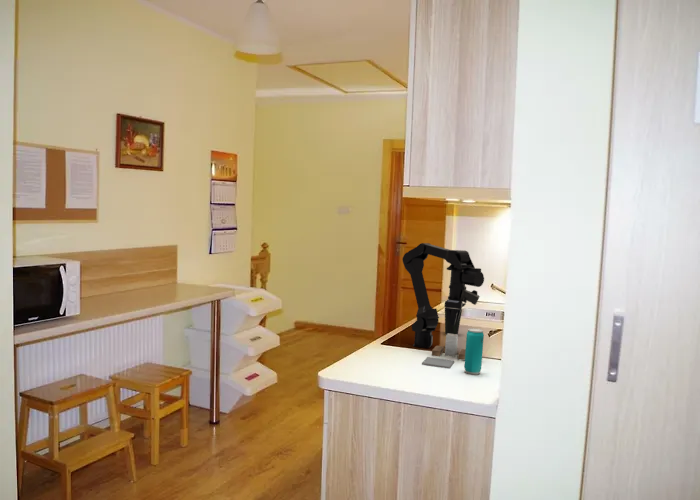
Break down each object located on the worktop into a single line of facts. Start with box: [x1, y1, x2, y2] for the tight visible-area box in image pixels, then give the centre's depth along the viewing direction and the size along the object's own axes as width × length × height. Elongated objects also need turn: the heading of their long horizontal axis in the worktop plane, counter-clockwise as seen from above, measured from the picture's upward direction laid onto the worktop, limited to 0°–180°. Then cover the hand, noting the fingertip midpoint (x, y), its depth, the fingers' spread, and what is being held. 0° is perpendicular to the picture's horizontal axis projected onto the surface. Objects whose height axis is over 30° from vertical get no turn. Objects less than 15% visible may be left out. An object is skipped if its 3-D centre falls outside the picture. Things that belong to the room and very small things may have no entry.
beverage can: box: [464, 327, 485, 376], centre depth 199 cm, size 6×6×15 cm
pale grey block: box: [444, 333, 459, 358], centre depth 223 cm, size 4×4×8 cm
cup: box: [444, 308, 463, 336], centre depth 261 cm, size 8×8×12 cm
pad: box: [421, 356, 455, 369], centre depth 210 cm, size 10×10×1 cm
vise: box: [431, 345, 466, 361], centre depth 222 cm, size 18×9×2 cm, turn 71°
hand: (454, 323), depth 223 cm, fingers open, 9 cm apart
